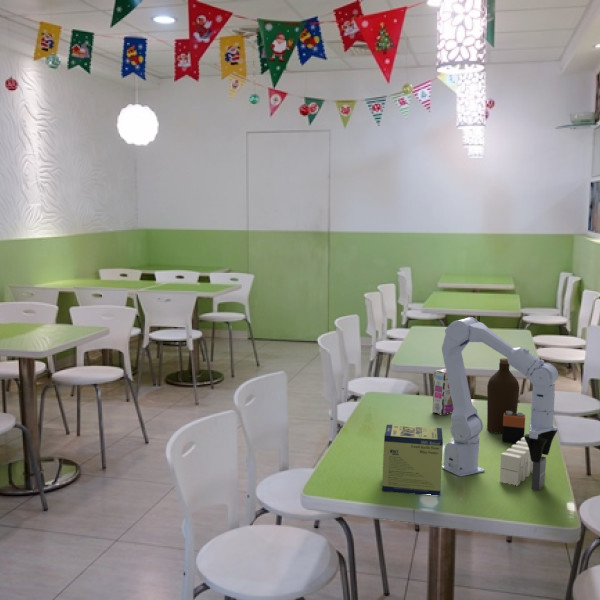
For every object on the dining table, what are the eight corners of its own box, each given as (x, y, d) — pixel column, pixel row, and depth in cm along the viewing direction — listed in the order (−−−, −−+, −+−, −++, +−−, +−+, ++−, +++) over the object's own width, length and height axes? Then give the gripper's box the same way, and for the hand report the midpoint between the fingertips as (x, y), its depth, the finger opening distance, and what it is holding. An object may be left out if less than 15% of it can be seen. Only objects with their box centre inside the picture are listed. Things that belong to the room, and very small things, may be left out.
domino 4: (527, 477, 195) (528, 449, 194) (509, 473, 198) (511, 446, 197) (529, 475, 197) (531, 447, 196) (512, 471, 200) (513, 444, 199)
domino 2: (522, 481, 192) (524, 453, 191) (504, 477, 195) (506, 450, 194) (524, 479, 193) (526, 451, 192) (507, 475, 196) (508, 448, 195)
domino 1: (517, 486, 188) (519, 457, 187) (499, 481, 191) (501, 454, 190) (519, 483, 190) (521, 455, 189) (502, 479, 193) (503, 452, 192)
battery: (502, 438, 229) (503, 409, 228) (523, 441, 227) (525, 411, 226) (501, 442, 225) (503, 412, 224) (523, 445, 223) (525, 415, 222)
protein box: (441, 496, 180) (443, 439, 179) (381, 491, 183) (383, 435, 181) (440, 481, 191) (442, 427, 189) (383, 477, 193) (385, 423, 191)
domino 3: (531, 472, 199) (533, 446, 198) (514, 469, 201) (516, 442, 200) (534, 470, 200) (535, 444, 199) (517, 467, 203) (518, 440, 202)
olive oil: (505, 436, 231) (509, 363, 228) (478, 429, 239) (482, 358, 236) (523, 431, 238) (527, 360, 235) (497, 423, 246) (500, 354, 243)
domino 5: (544, 485, 189) (546, 457, 188) (538, 491, 185) (540, 462, 184) (536, 483, 190) (538, 455, 189) (531, 489, 186) (532, 460, 185)
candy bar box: (443, 416, 255) (444, 372, 253) (431, 413, 258) (433, 370, 256) (460, 410, 262) (462, 368, 260) (449, 408, 266) (451, 366, 264)
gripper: (549, 417, 177) (547, 468, 179) (565, 405, 189) (562, 453, 190) (522, 413, 181) (519, 462, 183) (539, 401, 193) (536, 448, 194)
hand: (539, 457), depth 187 cm, fingers open, 7 cm apart
